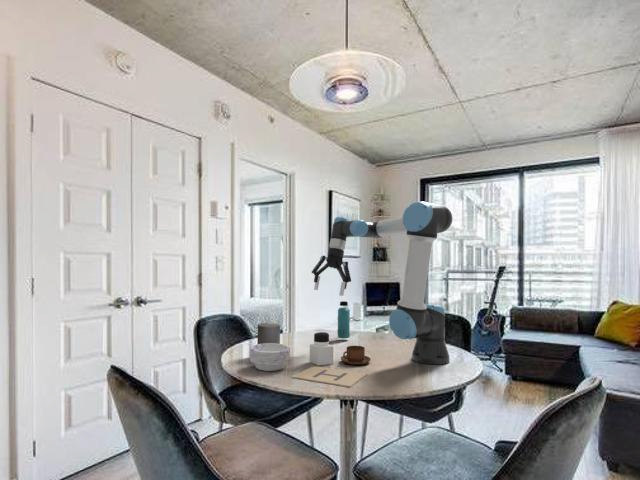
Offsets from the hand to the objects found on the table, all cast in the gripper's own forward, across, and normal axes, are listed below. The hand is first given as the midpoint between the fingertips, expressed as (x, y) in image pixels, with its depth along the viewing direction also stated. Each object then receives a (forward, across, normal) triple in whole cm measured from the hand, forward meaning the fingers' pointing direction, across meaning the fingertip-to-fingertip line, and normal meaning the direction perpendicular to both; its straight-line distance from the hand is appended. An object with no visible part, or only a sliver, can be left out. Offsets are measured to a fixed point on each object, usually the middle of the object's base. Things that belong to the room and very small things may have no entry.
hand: (328, 292), depth 186 cm
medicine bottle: (+30, +8, +20) cm, 37 cm away
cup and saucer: (+28, -5, +25) cm, 38 cm away
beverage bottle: (+21, -21, -16) cm, 34 cm away
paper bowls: (+34, +28, +19) cm, 49 cm away
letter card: (+32, +12, +38) cm, 51 cm away
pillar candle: (+32, +24, +3) cm, 40 cm away
